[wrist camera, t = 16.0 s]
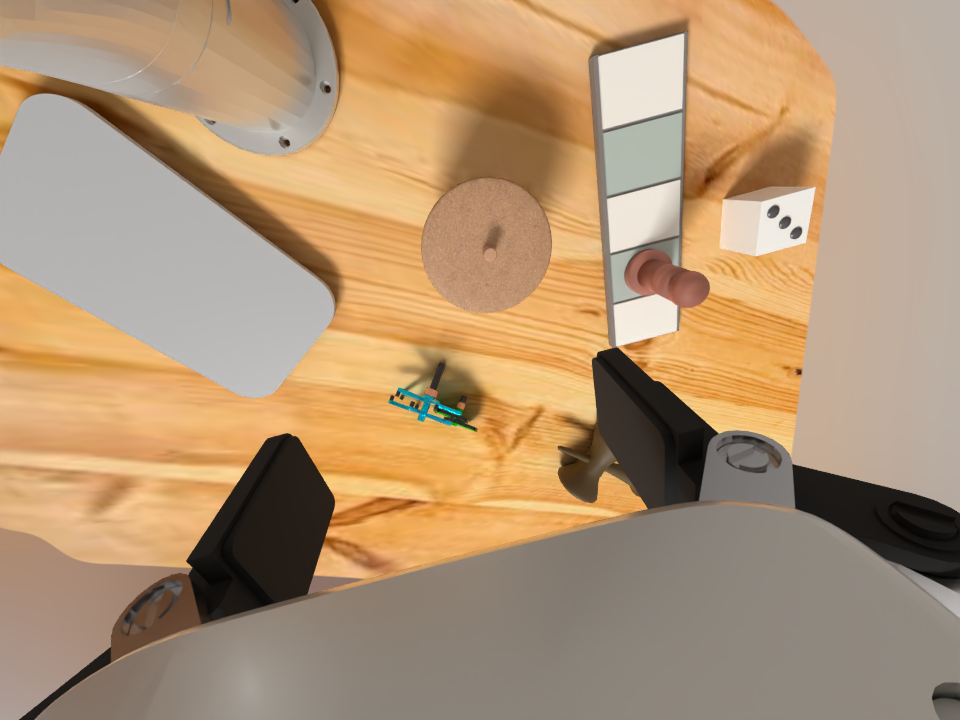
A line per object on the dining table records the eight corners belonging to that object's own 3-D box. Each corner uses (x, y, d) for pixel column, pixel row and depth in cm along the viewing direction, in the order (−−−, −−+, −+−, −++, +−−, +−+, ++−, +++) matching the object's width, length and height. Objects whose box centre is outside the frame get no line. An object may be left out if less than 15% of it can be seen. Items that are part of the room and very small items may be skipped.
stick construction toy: (374, 404, 41) (407, 415, 35) (398, 348, 42) (433, 349, 36) (452, 432, 48) (491, 446, 42) (470, 384, 49) (510, 390, 43)
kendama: (633, 496, 56) (531, 458, 50) (674, 451, 53) (570, 405, 47) (656, 528, 51) (544, 491, 44) (702, 481, 48) (590, 433, 41)
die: (722, 199, 37) (762, 201, 32) (769, 186, 37) (816, 186, 32) (719, 247, 39) (756, 256, 35) (763, 235, 39) (806, 242, 35)
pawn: (623, 255, 37) (674, 275, 29) (666, 243, 37) (729, 260, 29) (625, 296, 39) (673, 326, 31) (666, 286, 39) (724, 312, 31)
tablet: (270, 397, 42) (262, 408, 40) (-5, 240, 32) (-35, 244, 30) (352, 295, 37) (347, 301, 35) (63, 78, 28) (33, 70, 26)
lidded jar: (417, 280, 37) (411, 309, 29) (433, 165, 33) (431, 160, 24) (515, 298, 39) (537, 329, 31) (543, 192, 35) (577, 195, 26)
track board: (588, 59, 30) (594, 55, 29) (680, 35, 30) (689, 29, 29) (609, 344, 43) (613, 348, 42) (673, 327, 43) (679, 331, 42)
